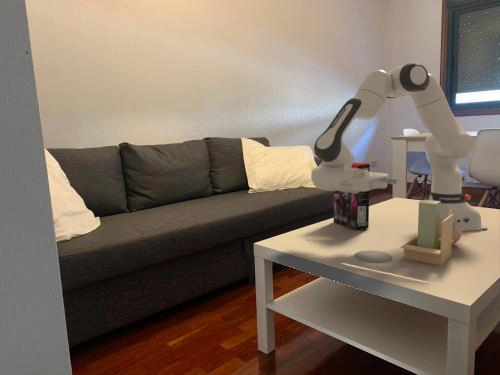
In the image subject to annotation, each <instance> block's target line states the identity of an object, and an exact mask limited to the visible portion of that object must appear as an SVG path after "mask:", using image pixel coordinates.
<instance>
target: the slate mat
mask: <svg viewBox="0 0 500 375" xmlns="http://www.w3.org/2000/svg"><path fill="white" fill-rule="evenodd" d="M354 258H355V259H356V260H358V261H361V262H364V263H370V264H384V263H385V264H386V263H390V262H392V261H393V259H394V257H393V255H391V254H390V253H388V252H385V251H382V250H361V251H357V252H356V253H354Z"/></svg>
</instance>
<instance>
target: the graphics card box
mask: <svg viewBox="0 0 500 375" xmlns="http://www.w3.org/2000/svg"><path fill="white" fill-rule="evenodd" d="M351 168H358V169H364V170H368V171H369V172H371V169H370V168H371V164H370V163H366V162H358V161H357V162H356V161H354V162H353V165H352V167H351ZM369 211H370V190H369V191H359V193H347V192H341V191H333V223H336V224H339V225H342V226H346V227H348V228H350V229H354V230H357V231H358V230H365V229H369V224H370V223H369V221H370V220H369V219H370V216H369V214H370V212H369Z"/></svg>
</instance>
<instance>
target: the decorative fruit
mask: <svg viewBox="0 0 500 375" xmlns="http://www.w3.org/2000/svg"><path fill="white" fill-rule="evenodd" d="M442 221H443V220H440V227H439V237H440V238H441V229H442ZM462 234H463V231H462V229H461V227H460V226H459V225H458V224H457V223H455V222H453V231H452V239H454V242H453V243H452V245H455V244H456V243H457V242H458V241H459V240H460V239H461V237H462V236H463V235H462Z"/></svg>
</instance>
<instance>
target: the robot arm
mask: <svg viewBox="0 0 500 375" xmlns="http://www.w3.org/2000/svg"><path fill="white" fill-rule="evenodd" d="M407 95H409V96H410V97H411V98H412V100H413V101H412V102H413V103H414V107H415V109H416V110H417V114H418V116H419V118H420V120H421V121H420V122H421V123H422V125H423V126H424V128H426V129H427V130H428V131H429V132H430V134H429V135H428V136H426V138H425V140H424V141H423V142H424V143H423V146H424V150H425V151H426V153H427V156H428V159H429V164H430V170H431V190H430V192H429V199H428V200H433V201H441V205H440V220H445V219H446V218H448V217H449V216H450V215H452V214H453V222H455V223H457V224H458V225H459V226H460V227H461V229H462V232H468V230H473V231H484V230H483V229H487V230H488V225H487V224H485V223H484V222H482V217H481V214H480V212H479V211H478V210H477V209H476V208H475V207H473V206H472V205H470V203H468V202H467V201H470V200H471V198H472V196H471V195H469V194H468V193H466V194H465V193H463V192H462V189H463V188H462V186H463V173H462V171H461V169H460V168H459V164H458V161H459V160H464V159H468V158H469V157H470V156H472V154H474V152H475V149H476V141H475V139H474V137H473V136H472V135H471V134H469V133H468V132H467V131H466V130H465V129H464V127H463V126H462V125H461V124H460V122H459V121H458V119H457V118H456V117H455V115H454V114H453V112H452V110H451V107H450V105H449V103H448V100H447V97H446V95H445V93H444V90H443V88H442V87H441V85H440V83H439V82H438V80H437V78H436V77H435V76H434V74H431V73H429V72H428V70H427V69H426V67H425V66H424V65H423V64H422V63H421V62H408V63H405V64H403V65H399V66H397V67H395V68H393V69H392V70H389V71H385V70H383V69H374V70H372V71H370V72H369V74H368V75H366V77H365V78H364V80H363V81H362V82H361V84H360V86H359V87H358V89H357V91H356V93H355V95H354V96H353V97H351V98H350V99H348V100H347V101H346V102H345V103H344V104H343V105H342V107H341V108H340V109H339V111H338V112H337V113H336V115H335V117H334V118H333V119H332V121H331V122H330V124H329V125H328V127H327V128H326V129H325V130H324V131H323V132H322V134H320V135H319V136H318V137H317V138H316V141H315V142H314V145H313V153H314V155H315V156H316V157H317V159H320V160H321V161H322V162H321V163H320V164H319V165H318V166H316V167H314V168H313V169H312V170H311V176H310V177H311V182H312V184H313V185H314V187H315V188H317V189H319V190H324V191H329V192H330V191H331V192H334V191H341V192H347V193H359V191H369V192H370V191H371V190H374V189H387V187H388V185H389V184H390V185H398V183H399V179H398V178H392V177H390V175H389V174H388V173H384V172H376V171H370V172H369V171H368V170H364V169H358V168H351V167H352V165H353V162H355V157H354V154H353V152H352V151H351V149H349V147H347V145H346V144H345V143H344V142H343V136H344V134H345V133H346V131H347V130H348V129H349V128H350V126H351V124H352V123H353V121H354V120H356V119H360V120H371V119H374V118H376V116H377V115H378V114H379V113H380V112H381V110H382V108H383V107H384V106H385V105H384V104H385V103H386V100H387V99H396V98H400V97H405V96H407ZM457 160H458V161H457ZM466 200H467V201H466Z"/></svg>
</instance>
